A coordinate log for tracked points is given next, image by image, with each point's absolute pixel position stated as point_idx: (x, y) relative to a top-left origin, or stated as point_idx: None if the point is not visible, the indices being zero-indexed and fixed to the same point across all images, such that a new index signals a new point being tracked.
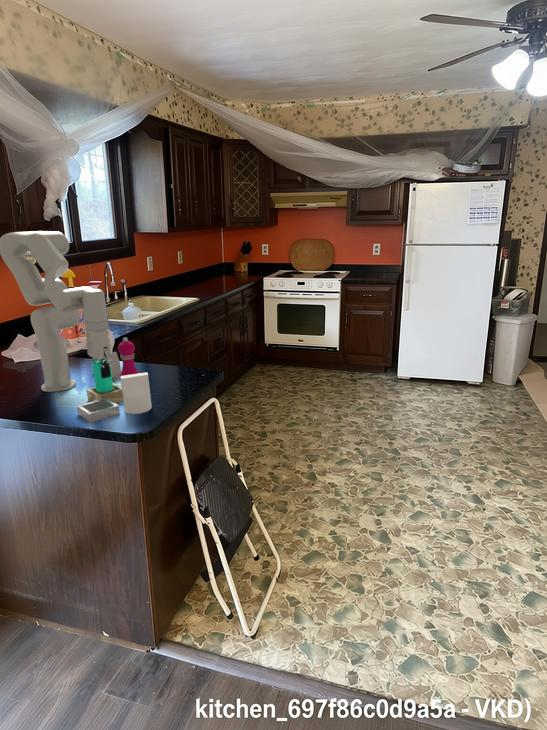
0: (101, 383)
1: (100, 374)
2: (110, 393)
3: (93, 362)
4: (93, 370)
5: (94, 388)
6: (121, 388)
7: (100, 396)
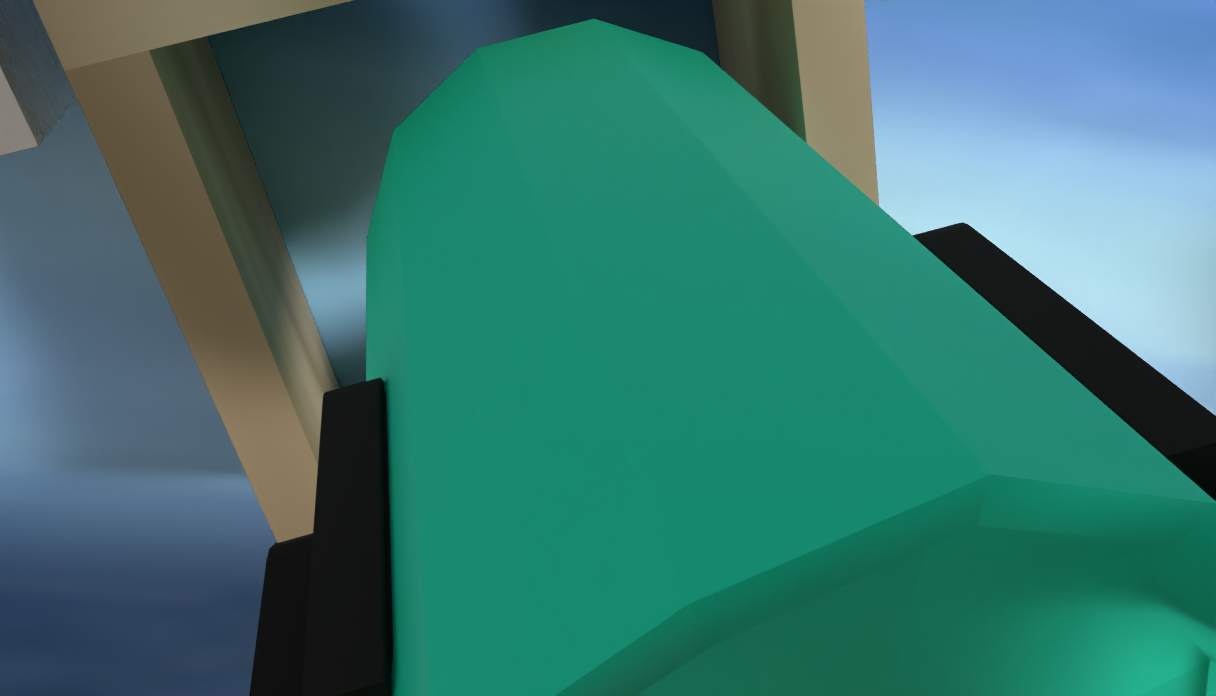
0: (387, 251)
1: (392, 420)
2: (181, 310)
3: (1136, 529)
4: (778, 254)
5: (792, 15)
6: None
7: (55, 43)
